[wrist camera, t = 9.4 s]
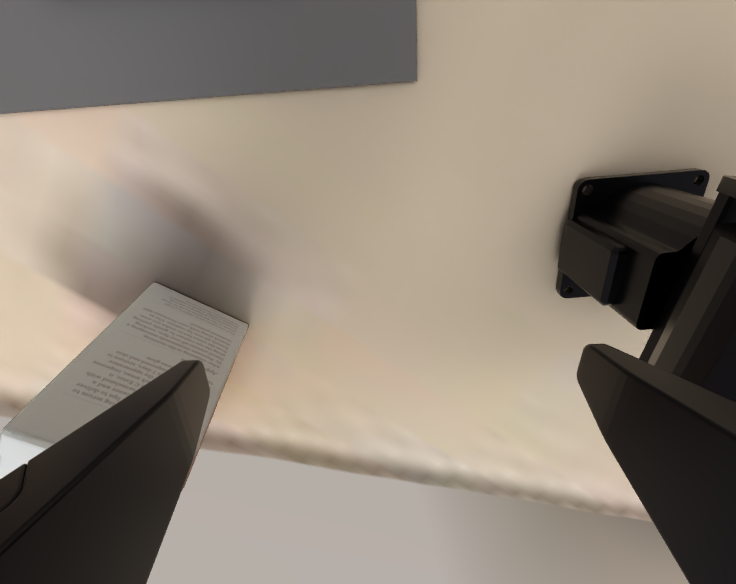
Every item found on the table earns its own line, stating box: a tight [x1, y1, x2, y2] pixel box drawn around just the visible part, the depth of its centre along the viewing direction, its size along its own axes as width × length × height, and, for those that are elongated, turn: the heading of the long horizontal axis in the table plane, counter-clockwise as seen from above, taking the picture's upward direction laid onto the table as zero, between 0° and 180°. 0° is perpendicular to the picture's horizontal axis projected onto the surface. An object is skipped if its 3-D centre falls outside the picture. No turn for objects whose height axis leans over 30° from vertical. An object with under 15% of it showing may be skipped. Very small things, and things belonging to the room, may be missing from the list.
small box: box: [0, 283, 248, 489], centre depth 18 cm, size 8×6×10 cm
